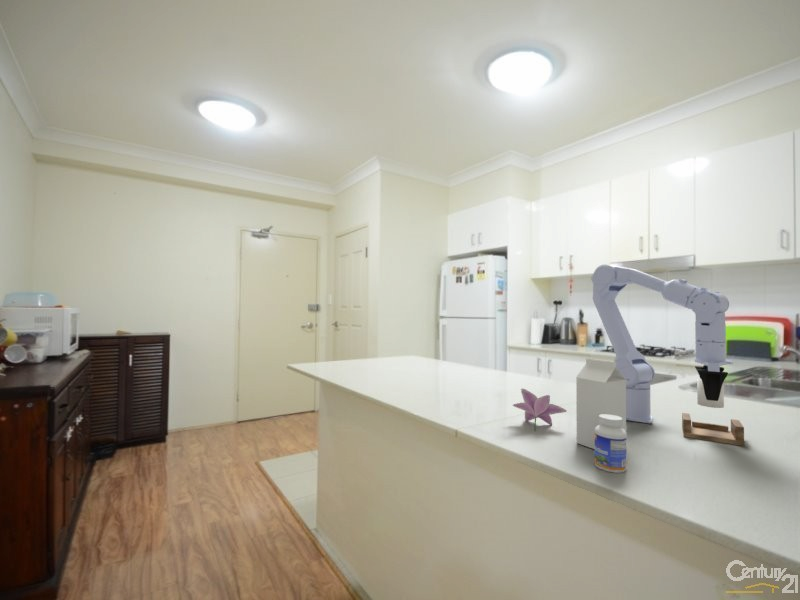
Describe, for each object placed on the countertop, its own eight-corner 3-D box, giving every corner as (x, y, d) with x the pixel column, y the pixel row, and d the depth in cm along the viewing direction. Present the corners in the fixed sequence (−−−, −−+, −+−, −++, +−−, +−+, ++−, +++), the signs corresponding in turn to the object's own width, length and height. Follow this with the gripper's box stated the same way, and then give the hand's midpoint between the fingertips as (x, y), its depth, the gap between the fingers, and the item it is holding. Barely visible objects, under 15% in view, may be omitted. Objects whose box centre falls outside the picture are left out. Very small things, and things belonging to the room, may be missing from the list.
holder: (683, 436, 92) (683, 419, 92) (682, 428, 99) (682, 412, 99) (744, 446, 86) (744, 428, 86) (738, 436, 93) (738, 419, 93)
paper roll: (699, 406, 92) (699, 380, 92) (695, 401, 96) (695, 377, 96) (726, 409, 89) (725, 382, 89) (721, 404, 94) (721, 379, 94)
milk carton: (605, 454, 81) (605, 363, 81) (576, 443, 87) (576, 359, 87) (626, 448, 84) (626, 361, 84) (596, 438, 90) (596, 357, 91)
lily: (572, 437, 95) (570, 398, 99) (542, 424, 89) (541, 384, 94) (532, 439, 104) (532, 404, 108) (502, 428, 98) (503, 391, 103)
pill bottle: (588, 462, 76) (588, 413, 76) (614, 461, 77) (614, 412, 77) (605, 474, 71) (605, 421, 71) (633, 473, 71) (633, 420, 71)
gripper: (736, 344, 85) (737, 406, 84) (727, 340, 97) (728, 394, 96) (696, 342, 89) (697, 402, 88) (692, 339, 101) (693, 391, 100)
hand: (710, 398), depth 93 cm, fingers closed on paper roll, 5 cm apart
